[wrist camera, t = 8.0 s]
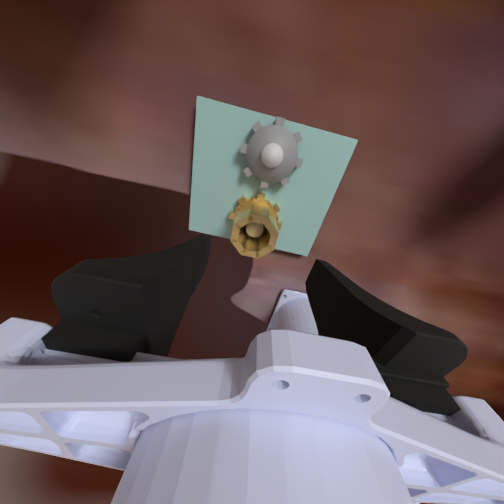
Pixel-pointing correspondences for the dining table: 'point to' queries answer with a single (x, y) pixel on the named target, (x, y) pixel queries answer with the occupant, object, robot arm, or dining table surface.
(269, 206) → the planet gear
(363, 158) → the dining table surface
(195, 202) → the carrier plate
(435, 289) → the dining table surface
